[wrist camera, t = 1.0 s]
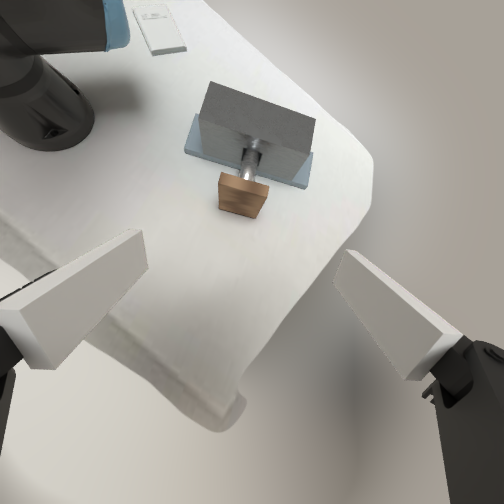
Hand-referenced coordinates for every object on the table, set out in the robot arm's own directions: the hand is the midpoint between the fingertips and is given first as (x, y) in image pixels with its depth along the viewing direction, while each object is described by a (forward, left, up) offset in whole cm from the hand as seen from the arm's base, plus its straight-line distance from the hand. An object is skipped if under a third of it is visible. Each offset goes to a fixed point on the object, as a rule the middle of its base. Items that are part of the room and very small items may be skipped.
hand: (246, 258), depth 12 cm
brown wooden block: (-1, +18, -25) cm, 31 cm away
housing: (-1, +28, -25) cm, 37 cm away
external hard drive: (-29, +52, -26) cm, 65 cm away
